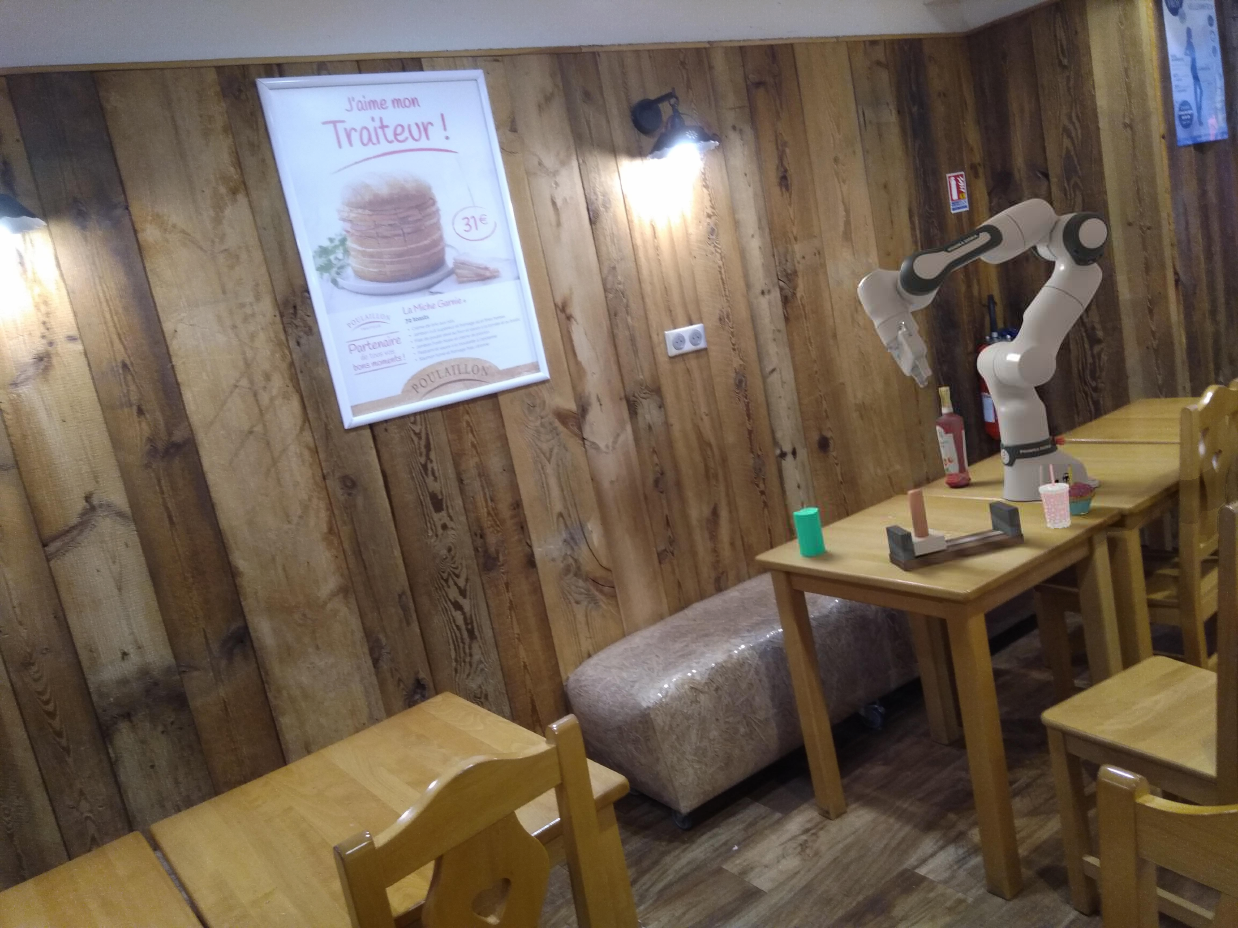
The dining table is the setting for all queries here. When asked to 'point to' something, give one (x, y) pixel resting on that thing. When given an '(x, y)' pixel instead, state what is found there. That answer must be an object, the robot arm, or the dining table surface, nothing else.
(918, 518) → the peach cylinder post
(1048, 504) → the beverage cup
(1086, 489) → the cupcake
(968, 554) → the rail
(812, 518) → the candle
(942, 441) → the liquor
